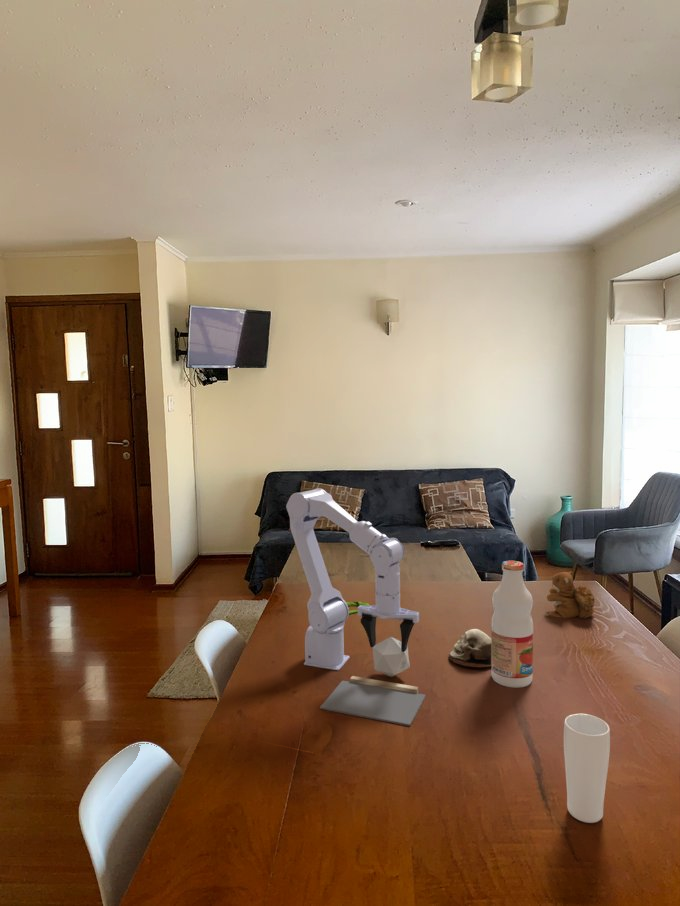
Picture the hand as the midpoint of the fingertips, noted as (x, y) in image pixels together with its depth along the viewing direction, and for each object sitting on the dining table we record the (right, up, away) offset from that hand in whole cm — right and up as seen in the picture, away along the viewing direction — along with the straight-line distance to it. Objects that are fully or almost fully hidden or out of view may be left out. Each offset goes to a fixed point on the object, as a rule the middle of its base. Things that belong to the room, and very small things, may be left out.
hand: (388, 647), depth 142 cm
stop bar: (-1, -8, -3) cm, 9 cm away
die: (+1, -8, +3) cm, 8 cm away
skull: (+21, -9, +7) cm, 24 cm away
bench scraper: (-4, -9, -9) cm, 14 cm away
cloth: (-8, -4, +49) cm, 50 cm away
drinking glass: (+28, -12, -45) cm, 55 cm away
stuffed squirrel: (+58, -3, +40) cm, 71 cm away
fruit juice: (+29, -8, 0) cm, 30 cm away
